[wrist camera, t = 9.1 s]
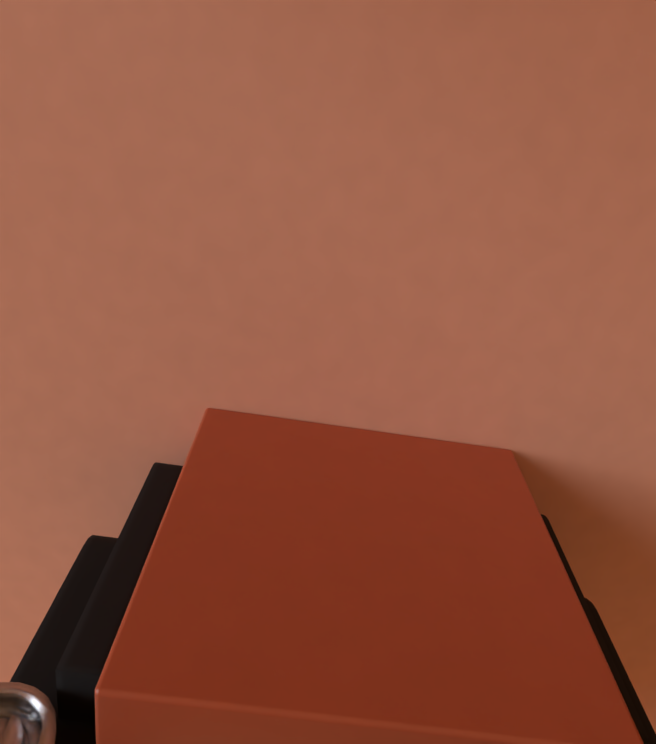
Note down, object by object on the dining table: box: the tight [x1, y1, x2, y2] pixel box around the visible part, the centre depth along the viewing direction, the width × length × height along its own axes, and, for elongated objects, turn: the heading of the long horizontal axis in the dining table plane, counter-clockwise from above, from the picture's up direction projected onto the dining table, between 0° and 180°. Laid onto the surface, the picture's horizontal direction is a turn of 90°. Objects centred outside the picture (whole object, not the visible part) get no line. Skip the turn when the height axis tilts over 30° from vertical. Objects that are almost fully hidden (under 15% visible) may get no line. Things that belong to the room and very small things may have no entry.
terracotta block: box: [95, 408, 644, 744], centre depth 9 cm, size 5×5×5 cm
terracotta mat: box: [0, 0, 656, 734], centre depth 11 cm, size 20×20×1 cm
